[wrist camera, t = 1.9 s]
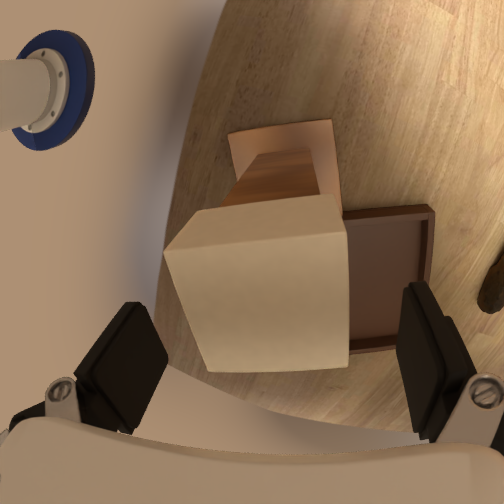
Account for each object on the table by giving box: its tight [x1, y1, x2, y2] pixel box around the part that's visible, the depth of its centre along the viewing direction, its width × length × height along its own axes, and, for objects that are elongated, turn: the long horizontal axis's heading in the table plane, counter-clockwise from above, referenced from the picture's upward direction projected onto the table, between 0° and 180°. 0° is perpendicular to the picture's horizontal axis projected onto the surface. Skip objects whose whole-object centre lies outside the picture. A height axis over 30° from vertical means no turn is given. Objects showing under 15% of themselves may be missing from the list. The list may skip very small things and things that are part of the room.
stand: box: [219, 118, 343, 216], centre depth 22 cm, size 10×10×18 cm
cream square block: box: [163, 194, 349, 372], centre depth 13 cm, size 6×6×4 cm
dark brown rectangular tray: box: [341, 204, 435, 355], centre depth 33 cm, size 12×19×2 cm, turn 11°
